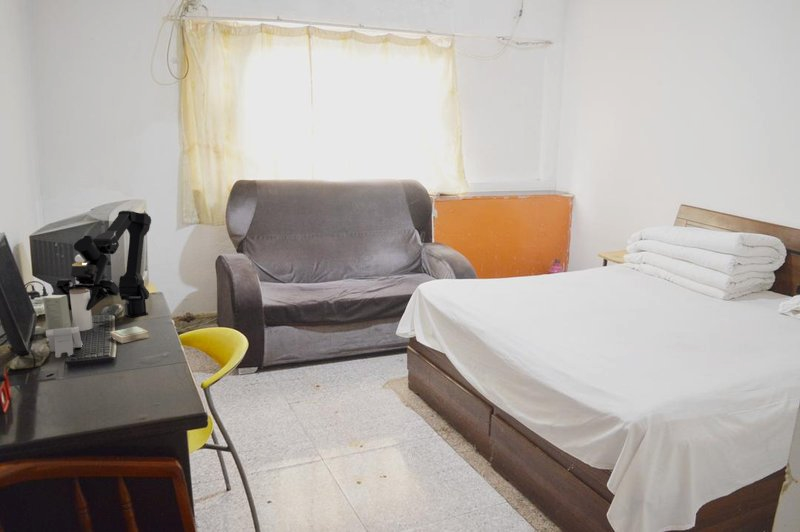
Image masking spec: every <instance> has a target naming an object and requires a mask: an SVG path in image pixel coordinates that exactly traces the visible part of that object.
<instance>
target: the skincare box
mask: <svg viewBox="0 0 800 532" xmlns="http://www.w3.org/2000/svg"><path fill="white" fill-rule="evenodd" d="M42 300H43V307H44V308H43V309H44V314H45V315H44V316H45V322H46V327H47V329H46V330H50V329H60V328H70V327H72V322H71V316H70V310H69V300H68V295H65V294H50V295H47V296H43V297H42Z"/></svg>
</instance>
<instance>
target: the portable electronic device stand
mask: <svg viewBox="0 0 800 532" xmlns="http://www.w3.org/2000/svg"><path fill="white" fill-rule="evenodd" d="M80 332H81V331H79V327H74V326H73V327H72V326H71V327H70V328H60V329H50V330H48V329H46V330H45V336H46V338H47V341H48V346H49V350H50V353H55V354H54V355H55V358H61V356H62V354H63V353H67V356H68V357H71V356H70V355H72V354H73V355H74V349H73V347H82V345H83V341H82V338H81V333H80ZM83 346H84V345H83Z"/></svg>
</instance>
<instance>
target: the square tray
mask: <svg viewBox="0 0 800 532" xmlns="http://www.w3.org/2000/svg"><path fill="white" fill-rule="evenodd" d="M109 334H111V335H112V336H113V337H114V338H115V340H114V341H116V342H119V343H120V344H125V343H129V342H134V341H138V340H143V339H147V338H148V339H149V338H150V331H148V330H146V329H145V328H142V327H139V326H132V327H127V328H124V329H123V328H122V329H118V330H114V331H113V330H112V331H110V332H109Z"/></svg>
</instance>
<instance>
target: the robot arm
mask: <svg viewBox="0 0 800 532" xmlns="http://www.w3.org/2000/svg"><path fill="white" fill-rule="evenodd" d="M151 224H152V218H151V216H150V215H149V214H148V213H147V212H137V211H133V210H121V211H118V213H117V216H116V218H115V219H114V220H113V221H112V223H111V224H110V225H109V227H107V229H106V231H104V232H102V233H100V234H97V236H95V237H94V238H93V237H92V236H91V235H83V237H82V238H80V239H78V240H77V241H76V242H75V243H74V246H73V249H74V250H75V252H76V253H77V255H80V256H81V257H82V258H83V259H84V260H85V261H84V262H86V263H87V265H86V266H72V265H71V269H70V274H69V277H73V278H75V277H76V278H75V281H76V280H77V281H79V284H76V282H73V281H72V280H71V279H69V278H68V279H63V278H62V279H58V280H57V281H56V283H55V287H56V288H57V290H59V292H61V293H62V295H67V299H68V308H69V311H72V308H71V300H70V293H69V290H70V289H74V288H89V291H91V293H90V299H89V302H88V304H87V308H86V310H87V311H89V310H90V309H91V310H92V308H94V307H95V306H96V305H98V304H99V303H100V302H101V301H102V300H104V299H105V298H108V297H109V296H112V297H113V296H115V297H116V296H118V294H119V296H120V299H121V301H124V302H125V303H124V304H123V305H124V315H125V316H128V317H130V318H135V317H141V316H146V315H149V312H147V305H146V304H147V303H146V300H148V299H149V297H150V292H149V290H148V289H147V288H146V286H145V280H144V278H143V276H142V274H141V271H142V269H141V268H142V259H143V251H144V250H143V248H144V239H145V236H146V235H147V234H148V232H149V231H150V228H151ZM125 231H128V234H129V241H128V251H127V258H126V259H127V260H126V269H125V270H126V271H125V273H124V274H123V275H121V276H120V277H119V281H118V282H119V283H118V285H117V284H116V283H115V281H113V279H105V277H106V276H105V275H104V274H105V270H106V268H107V266H112V264H111V263H112V262H111V261H110V258H109V257H107V255H114V254H115V253H117V250H118V249H119V246H120V244H119V240H120V238H121V237H122V236H123V235H124V233H125Z"/></svg>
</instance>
